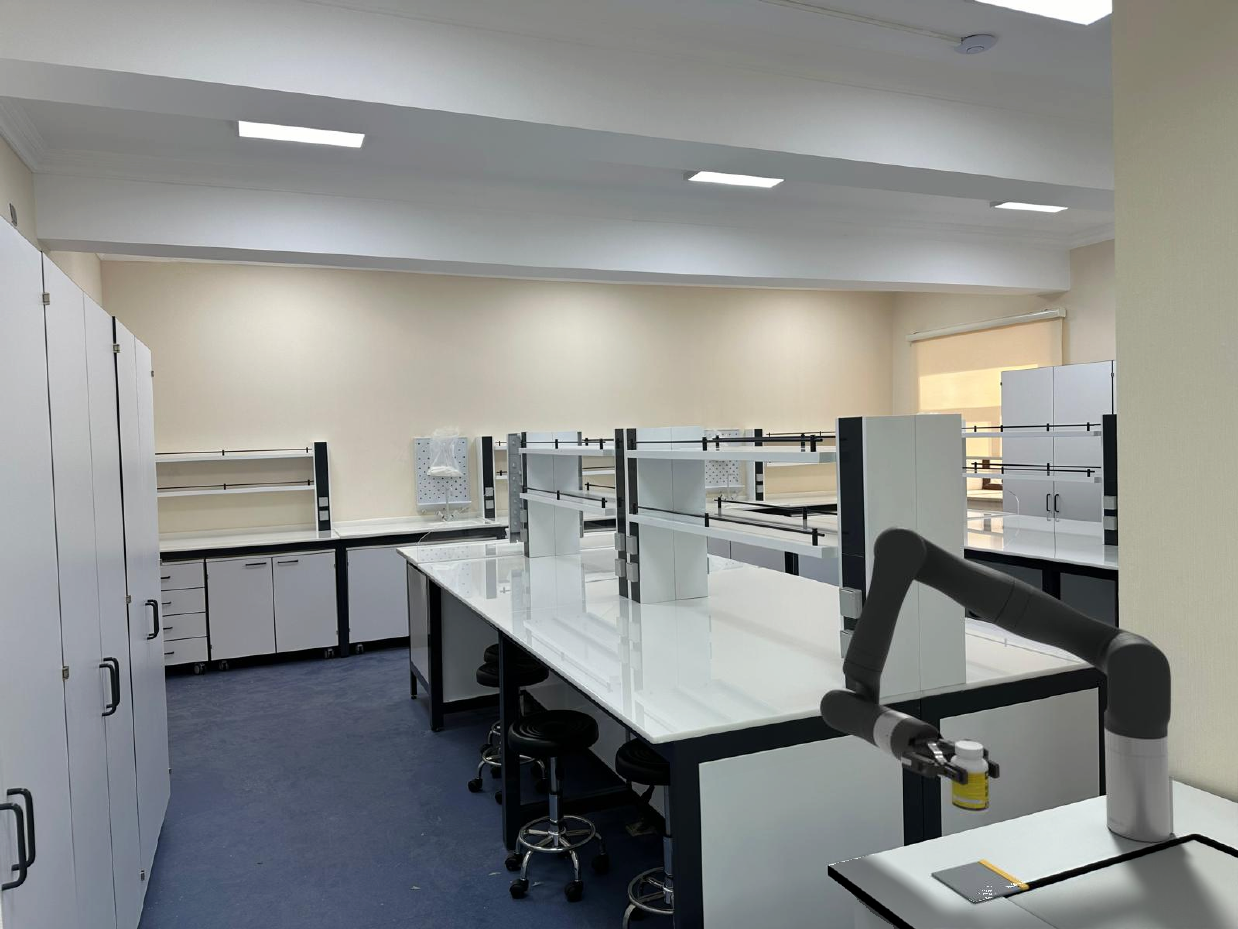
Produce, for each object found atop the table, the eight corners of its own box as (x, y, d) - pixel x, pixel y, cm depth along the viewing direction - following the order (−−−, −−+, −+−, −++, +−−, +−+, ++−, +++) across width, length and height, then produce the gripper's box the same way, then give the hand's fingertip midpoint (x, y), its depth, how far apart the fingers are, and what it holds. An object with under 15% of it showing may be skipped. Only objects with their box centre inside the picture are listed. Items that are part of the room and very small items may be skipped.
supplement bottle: (992, 817, 125) (991, 752, 125) (954, 815, 126) (953, 750, 126) (984, 801, 130) (983, 739, 130) (947, 799, 131) (946, 738, 131)
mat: (983, 861, 134) (983, 859, 134) (1028, 888, 126) (1028, 886, 126) (931, 875, 131) (931, 872, 131) (974, 903, 122) (974, 900, 122)
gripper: (871, 723, 139) (943, 758, 123) (941, 711, 144) (1019, 743, 128) (872, 767, 139) (944, 808, 123) (941, 754, 144) (1019, 792, 128)
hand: (981, 775), depth 125 cm, fingers closed on supplement bottle, 5 cm apart
